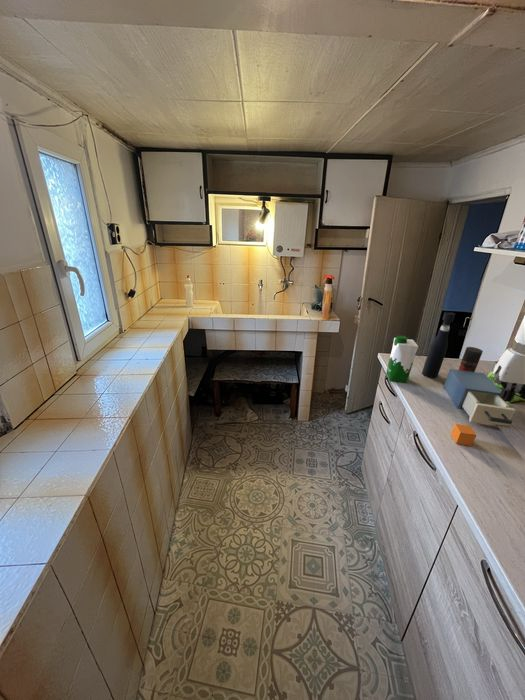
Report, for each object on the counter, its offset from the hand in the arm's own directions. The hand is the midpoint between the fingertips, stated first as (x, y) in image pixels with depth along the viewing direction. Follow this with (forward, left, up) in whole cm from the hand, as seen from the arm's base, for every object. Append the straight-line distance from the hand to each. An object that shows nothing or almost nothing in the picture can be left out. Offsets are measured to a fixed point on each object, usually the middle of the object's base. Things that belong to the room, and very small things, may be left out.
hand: (504, 399), depth 92 cm
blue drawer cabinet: (0, -18, -12) cm, 22 cm away
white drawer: (0, -6, -11) cm, 13 cm away
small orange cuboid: (+12, +9, -12) cm, 20 cm away
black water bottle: (+9, -36, -13) cm, 39 cm away
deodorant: (-5, -36, -13) cm, 39 cm away
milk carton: (+25, -28, -13) cm, 40 cm away
